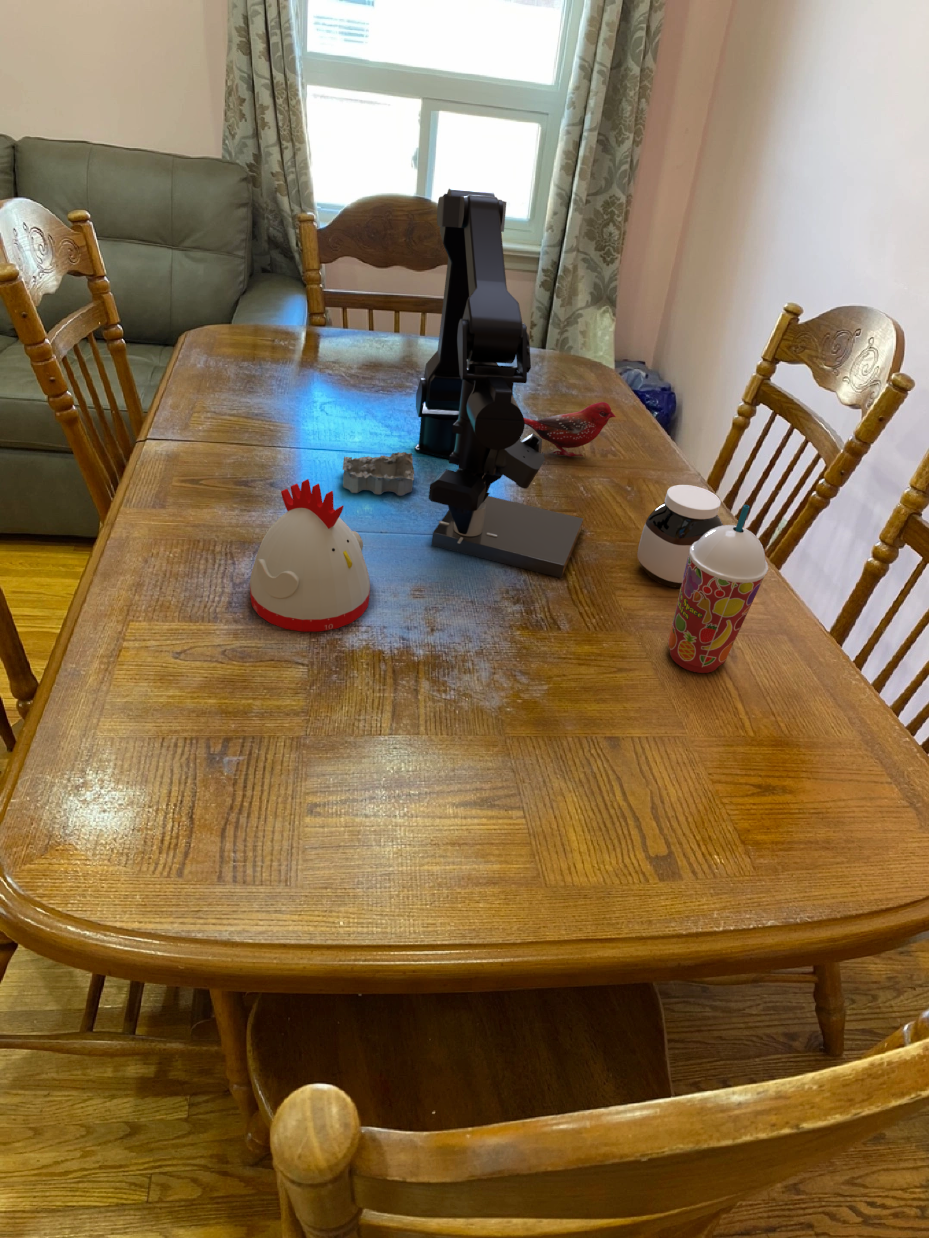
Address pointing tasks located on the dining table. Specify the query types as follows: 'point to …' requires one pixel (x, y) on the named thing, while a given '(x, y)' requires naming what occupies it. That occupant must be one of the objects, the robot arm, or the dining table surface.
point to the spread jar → (676, 532)
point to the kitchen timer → (310, 566)
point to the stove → (516, 536)
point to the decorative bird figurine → (573, 427)
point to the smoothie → (716, 595)
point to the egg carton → (379, 473)
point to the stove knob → (475, 522)
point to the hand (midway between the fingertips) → (467, 526)
